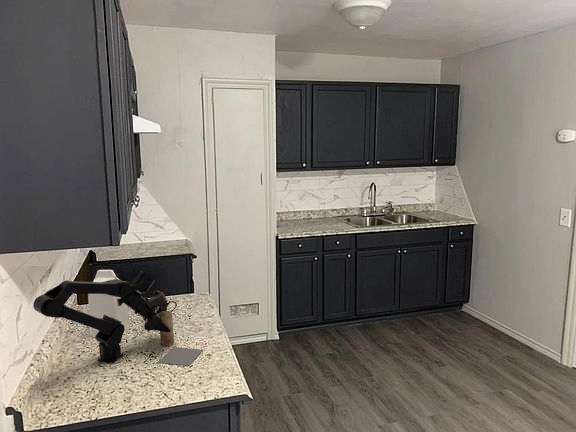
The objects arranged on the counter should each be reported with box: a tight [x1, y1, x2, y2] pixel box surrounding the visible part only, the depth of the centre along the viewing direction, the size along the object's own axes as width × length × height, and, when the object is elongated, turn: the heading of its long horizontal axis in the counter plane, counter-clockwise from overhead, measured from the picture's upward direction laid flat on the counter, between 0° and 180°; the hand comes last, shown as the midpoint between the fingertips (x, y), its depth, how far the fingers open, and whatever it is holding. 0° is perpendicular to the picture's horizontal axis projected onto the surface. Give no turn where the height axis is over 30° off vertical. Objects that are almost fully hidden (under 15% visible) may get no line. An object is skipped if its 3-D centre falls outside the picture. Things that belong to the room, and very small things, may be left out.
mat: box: [157, 346, 204, 367], centre depth 164 cm, size 12×12×1 cm
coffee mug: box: [158, 296, 178, 313], centre depth 195 cm, size 12×9×10 cm
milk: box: [87, 269, 132, 337], centre depth 186 cm, size 12×12×26 cm
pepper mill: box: [159, 310, 175, 348], centre depth 173 cm, size 5×5×12 cm
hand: (170, 327), depth 173 cm, fingers open, 8 cm apart
